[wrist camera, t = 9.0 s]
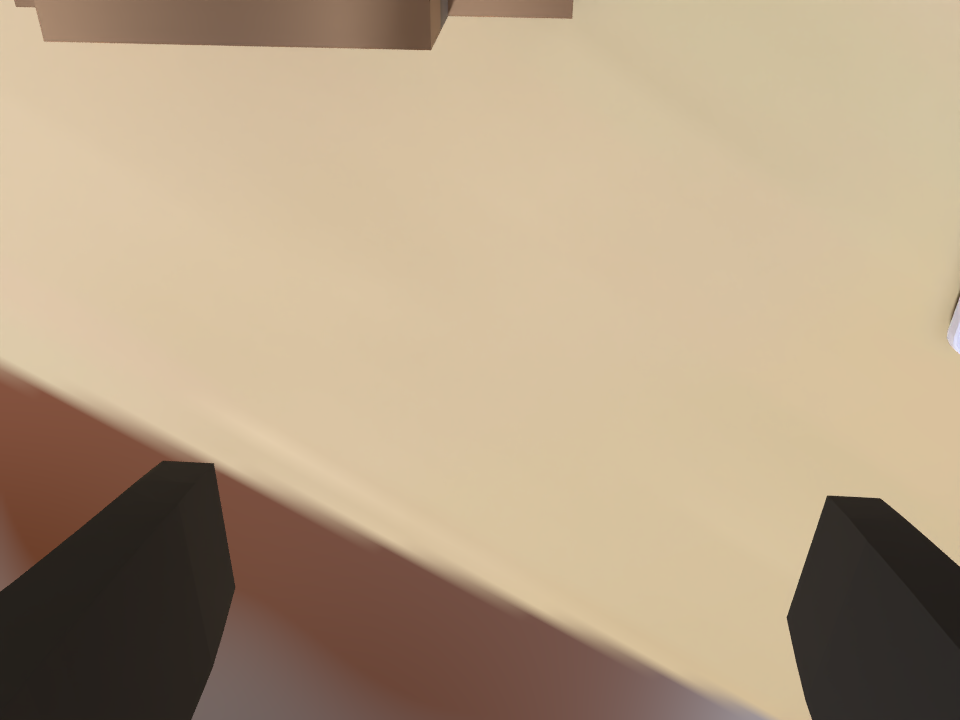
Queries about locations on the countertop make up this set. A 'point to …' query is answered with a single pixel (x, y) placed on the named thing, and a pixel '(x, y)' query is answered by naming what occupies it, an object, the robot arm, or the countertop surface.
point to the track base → (273, 21)
